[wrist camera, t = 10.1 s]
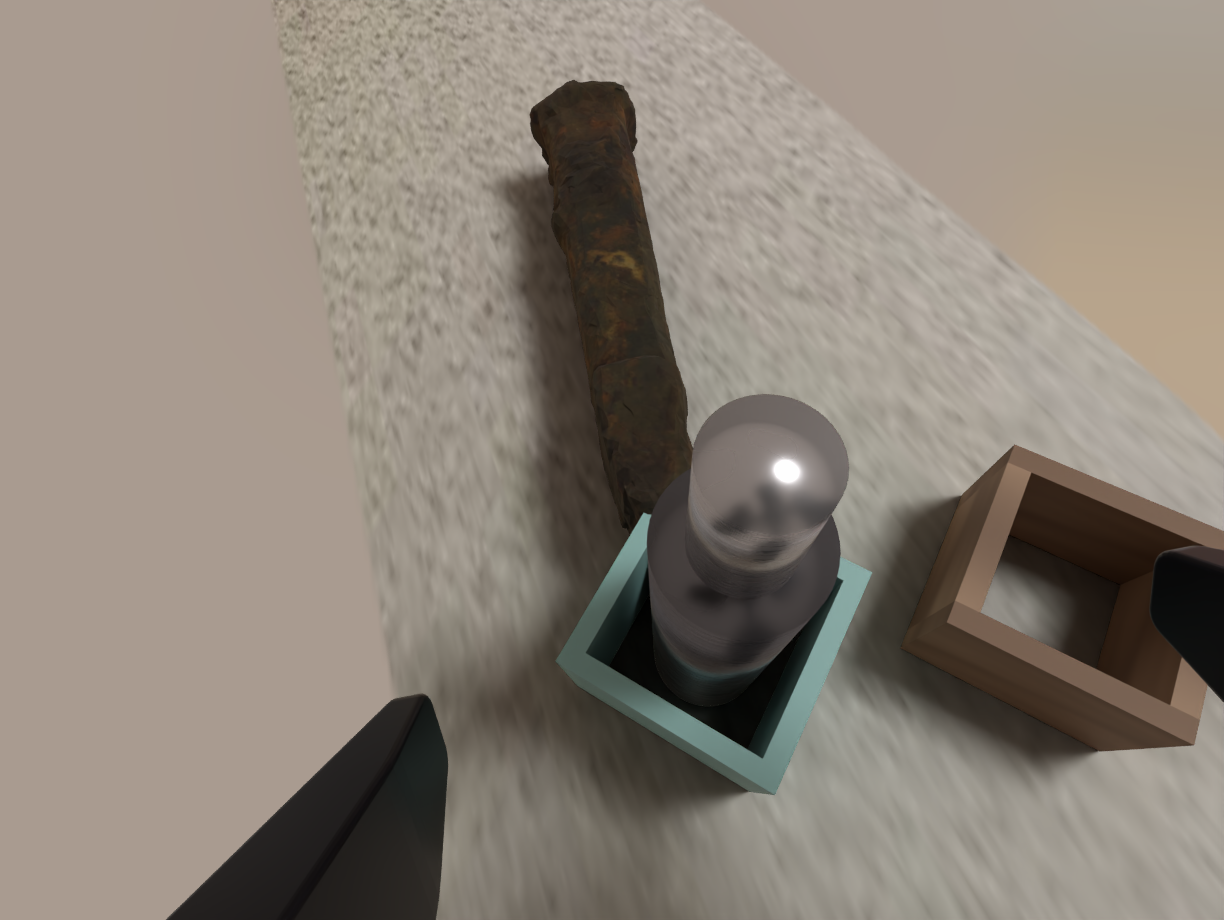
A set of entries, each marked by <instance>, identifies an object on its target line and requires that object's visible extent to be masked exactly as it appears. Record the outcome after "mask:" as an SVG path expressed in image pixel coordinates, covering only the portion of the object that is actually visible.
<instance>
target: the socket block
mask: <svg viewBox="0 0 1224 920" xmlns="http://www.w3.org/2000/svg"><path fill="white" fill-rule="evenodd" d="M1008 535H1011V536H1013V537H1016V538H1018V539H1020V540H1022V541H1025V542H1027V543H1029V544H1031V545H1033V546H1036V547H1038V548H1040V549H1042V550H1044V551H1047V552H1049V553H1051V554H1053V555H1056V556H1058V557H1060V558H1062V559H1064V560H1067V561H1069V562H1071V563H1073V564H1075V565H1078V566H1080V567H1082V568H1084V569H1087V570H1089V571H1091V572H1093V573H1095V574H1098V575H1100V576H1102V577H1104V578H1107V579H1109V580H1111V581H1113V582H1115V583H1118V584H1120V589H1119V592H1118V595H1117V599H1116V602H1115V606H1114V609H1113V613H1112V616H1111V620H1110V623H1109V627H1108V630H1107V634H1106V637H1105V641H1104V644H1103V648H1102V651H1101V655H1100V658H1099V661H1098V665H1097V668H1096V669H1095V668H1093V667H1091V666H1089V665H1086V664H1084V663H1082V662H1080V661H1078V660H1076V659H1074V658H1072V657H1070V656H1068V655H1066V654H1064V653H1062V652H1060V651H1058V650H1056V649H1054V648H1052V647H1050V646H1048V645H1045V644H1043V643H1041V642H1039V641H1037V640H1035V639H1033V638H1031V637H1029V636H1027V635H1025V634H1023V633H1021V632H1019V631H1017V630H1015V629H1013V628H1011V627H1009V626H1006V625H1004V624H1002V623H1000V622H998V621H996V620H994V619H992V618H990V617H988V616H986V615H984V614H982V613H980V612H981V609H982V606H983V604H984V601H985V598H986V595H987V593H988V590H989V587H990V584H991V582H992V579H993V576H994V573H995V571H996V568H997V565H998V562H999V560H1000V557H1001V554H1002V552H1003V549H1004V546H1005V543H1006V541H1007V538H1008ZM1188 546H1205V547H1211V548H1216V549H1221V550H1224V531H1222V530H1219V529H1217V528H1215V527H1212V526H1210V525H1207V524H1205V523H1203V522H1200V521H1198V520H1195V519H1193V518H1190V517H1188V516H1186V515H1183V514H1181V513H1178V512H1176V511H1174V510H1171V509H1169V508H1166V507H1164V506H1162V505H1159V504H1157V503H1154V502H1152V501H1150V500H1147V499H1145V498H1142V497H1140V496H1137V495H1135V494H1133V493H1130V492H1128V491H1125V490H1123V489H1121V488H1118V487H1116V486H1113V485H1111V484H1109V483H1106V482H1104V481H1101V480H1099V479H1097V478H1094V477H1092V476H1089V475H1087V474H1084V473H1082V472H1080V471H1077V470H1075V469H1072V468H1070V467H1068V466H1065V465H1063V464H1060V463H1058V462H1056V461H1053V460H1051V459H1048V458H1046V457H1044V456H1041V455H1039V454H1036V453H1034V452H1031V451H1029V450H1027V449H1024V448H1022V447H1019V446H1017V445H1014V446H1013V447H1012V448H1011V449H1010V450H1008V451H1007V452H1006V453H1005V454H1004V455H1003V456H1002V457H1001V458H1000V459H999V460H998V461H997V462H996V463H995V464H994V465H993V466H992V467H991V468H990V469H989V470H987V471H986V472H985V473H984V474H983V475H982V476H981V477H980V478H979V479H978V480H977V481H976V482H975V483H974V484H973V485H972V486H971V487H970V488H969V489H968V490H967V491H965V492H964V493H963V494H962V496H961V499H960V501H959V504H958V506H957V509H956V511H955V514H954V516H953V519H952V521H951V523H950V526H949V528H948V531H947V533H946V536H945V538H944V541H943V543H942V546H941V548H940V551H939V553H938V556H937V558H936V561H935V563H934V566H933V568H932V571H931V573H930V576H929V578H928V581H927V583H926V586H925V588H924V591H923V593H922V596H921V598H920V600H919V603H918V605H917V608H916V610H915V613H914V615H913V618H912V620H911V623H910V625H909V628H908V630H907V633H906V635H905V638H904V640H903V643H902V645H901V649H903V650H905V651H907V652H909V653H911V654H913V655H915V656H917V657H919V658H920V659H922V660H924V661H926V662H928V663H930V664H932V665H934V666H936V667H938V668H940V669H942V670H944V671H946V672H947V673H949V674H951V675H953V676H955V677H957V678H959V679H961V680H963V681H965V682H967V683H969V684H971V685H973V686H975V687H976V688H978V689H980V690H982V691H984V692H986V693H988V694H990V695H992V696H994V697H996V698H998V699H1000V700H1002V701H1003V702H1005V703H1007V704H1009V705H1011V706H1013V707H1015V708H1017V709H1019V710H1021V711H1023V712H1025V713H1027V714H1029V715H1030V716H1032V717H1034V718H1036V719H1038V720H1040V721H1042V722H1044V723H1046V724H1048V725H1050V726H1052V727H1054V728H1056V729H1058V730H1059V731H1061V732H1063V733H1065V734H1067V735H1069V736H1071V737H1073V738H1075V739H1077V740H1079V741H1081V742H1083V743H1085V744H1086V745H1088V746H1090V747H1092V748H1094V749H1096V750H1098V751H1115V750H1130V749H1145V748H1160V747H1176V746H1191V745H1194V743H1195V739H1196V735H1197V730H1198V726H1199V721H1200V717H1201V712H1202V708H1203V703H1204V699H1205V694H1206V690H1207V684H1206V683H1205V682H1204V681H1203V679H1202V678H1201V677H1200V676H1199V675H1198V674H1197V673H1196V672H1195V671H1194V670H1193V669H1192V668H1191V666H1190V665H1189V664H1188V663H1187V662H1186V661H1185V660H1184V659H1183V658H1182V657H1181V656H1180V655H1179V653H1178V652H1177V651H1176V650H1175V649H1174V648H1173V647H1172V646H1171V645H1170V644H1169V643H1168V642H1167V641H1166V639H1165V638H1164V637H1163V636H1162V635H1161V634H1160V633H1159V632H1158V630H1157V629H1156V628H1155V626H1154V624H1153V622H1152V620H1151V617H1150V612H1149V606H1150V597H1151V588H1152V578H1153V569H1154V563H1155V560H1156V558H1157V557H1158V555H1159V554H1161V553H1162V552H1164V551H1168V550H1173V549H1178V548H1183V547H1188Z"/></svg>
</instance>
